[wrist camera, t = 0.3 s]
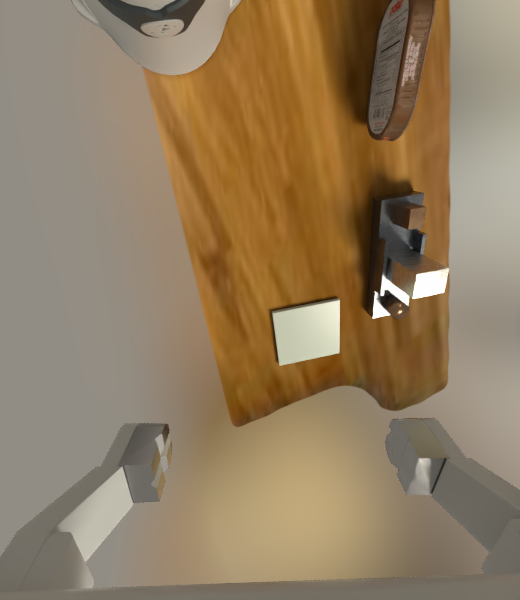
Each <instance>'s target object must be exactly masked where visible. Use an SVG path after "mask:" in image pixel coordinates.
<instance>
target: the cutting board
mask: <svg viewBox="0 0 520 600" xmlns="http://www.w3.org/2000/svg"><path fill="white" fill-rule="evenodd" d="M272 316H273V324H274V331H275V339H276V346H277V354H278V361H279V365H280V366H281V365H285V364H290V363H295V362H299V361H304V360H309V359H313V358H318V357H323V356H328V355H332V354H337V353H339V335H340V300H339V299H338V298H336V299H331V300H326V301H321V302H316V303H311V304H306V305H301V306H296V307H291V308H286V309H281V310H276V311H272Z"/></svg>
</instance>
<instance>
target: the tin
mask: <svg viewBox="0 0 520 600" xmlns="http://www.w3.org/2000/svg"><path fill="white" fill-rule="evenodd" d="M435 2H436V0H390V1H389V3H388V5H387V7H386V10H385V12H384V15H383V18H382V21H381V24H380V28H379V32H378V37H377V43H376V50H375V57H374V64H373V71H372V78H371V86H370V93H369V101H368V109H367V127H368V131H369V134H370V136H371V137H372V138H373V139H375V140H389V141H394V140H396V139H398V138H399V137H400V136H401V135H402V134H403V133H404V131H405V130H406V128H407V127H408V125H409V123H410V121H411V118H412V116H413V113H414V110H415V106H416V102H417V98H418V93H419V88H420V83H421V78H422V73H423V68H424V63H425V58H426V54H427V49H428V44H429V39H430V34H431V30H432V25H433V20H434V14H435Z"/></svg>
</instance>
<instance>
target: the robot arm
mask: <svg viewBox="0 0 520 600" xmlns="http://www.w3.org/2000/svg"><path fill="white" fill-rule="evenodd" d="M71 1H72V3H73V5H74V7H75V8H76V10H77V11H78V13H79V14H80V15H81V16H83V17H84V18H85V19H86V20H88V21H90V22H91V23H93V24H94V25H96V26H98V27H100V28H101V29H103V30H105V31H106V32H107V33H108V34H109V35H110V36H111V37H112V39H113V40H114V41H115V42H116V43H117V44H118V46H119V47H120V48H121V49H122V50H123V51H124V52H125V53H126V54H127V55H128V56H129V57H130V58H132V59H133V60H134V61H135V62H137V63H138V64H140V65H141V66H143V67H145V68H146V69H148V70H151V71H153V72H156V73H160V74H165V75H180V74H185V73H188V72H191V71H193V70H195V69H197V68H198V67H200V66H201V65H202V64H204V63H205V62H206V61H207V60H208V59H209V57H210V56H211V55H212V54H213V52H214V51H215V49H216V47H217V45H218V43H219V41H220V39H221V36H222V33H223V30H224V27H225V24H226V21H227V19H228V16H229V14H230V13H231V12H232V11H233V10H234V9H235V8H236V6H237V5H238V4H239V3H240V1H241V0H71ZM389 427H390V429H391V432H390V433H389V434H388V435H387V437H386V441H385V444H386V451H387V455H388V457H389V460H390V462H391V463H392V464H393V465H394V466H395V467H396V468H398V473H397V476H398V478H399V480H400V482H401V484H402V486H403V489H404V491H405V492H406V494H407V495H432V497H433V498H434V499H435V500H436V501H437V502H438V503H439V504H440V505H441V506H442V507H443V508H444V509H445V510H446V511H447V512H448V513H449V514H450V515H451V516H453V518H454V519H456V520H457V521H458V522H459V523H460V524H461V525H462V526H463V527H464V528H465V529H466V530H467V531H468V532H469V533H470V534H471V535H472V536H473V537H474V538H475V539H476V540H477V541H478V542H480V543H481V544H482V545H483V546H484V547H485V548H486V549H487V550H488V551H489V552H490V553H489V554H488V556H487V557H486V559H485V561H484V562H483V564H482V568H481V569H482V570H483V572H484V574H480V575H479V574H478V575H451V576H421V577H396V578H395V577H393V578H364V579H337V580H310V581H281V582H280V581H279V582H255V583H254V582H251V583H223V584H197V585H196V584H195V585H167V586H140V587H112V588H92V587H93V584H94V580H93V577H92V575H91V573H90V571H89V569H88V567H87V565H86V563H85V562H86V561H87V560H88V559H89V557H90V556H91V555H92V554H93V553H94V551H95V550H96V549H97V548H98V547H99V545H100V544H101V543H102V542H103V540H104V539H105V538H106V537H107V536H108V534H109V533H110V532H111V531H112V530H113V529H114V527H115V526H116V525H117V524H118V522H119V521H120V520H121V519H122V518H123V517H124V515H125V514H126V513H127V512H128V511H129V509H130V508H131V507H132V506H133V503H140V502H156V501H160V498H161V494H162V491H163V487H164V483H165V478H164V473H165V472H166V471H167V469H168V468H169V465H170V462H171V455H172V442H171V439H170V438H169V437H168V434H169V425H168V424H159V423H158V424H156V423H154V424H153V423H151V424H150V423H138V424H136V423H135V424H132V423H131V424H128V423H127V424H126V423H125V424H124V425H123V426H122V427H121V428H120V430H119V432H118V434H117V436H116V438H115V440H114V442H113V444H112V446H111V448H110V449H109V451H108V453H107V456H106V457H105V459H104V461H103V463H102V465H101V467H95V468H94V469H93V470H92V471H91V472H89V473H88V474H87V475H86V476H84V477H83V478H82V479H81V480H80V481H78V482H77V483H76V484H75V485H73V486H72V487H71V488H70V489H69V490H67V491H66V492H65V493H64V494H63V495H61V496H60V497H59V498H58V499H56V500H55V501H54V502H53V503H51V504H50V505H49V506H48V507H47V508H45V509H44V510H43V511H42V512H40V513H39V514H38V515H37V516H36V517H35V518H33V519H32V520H31V521H29V522H28V523H27V524H26V525H25V526H24V527H22V528H21V529H20V530H18V531H17V533H16V534H15V536H14V537H13V539H12V540H11V542H10V543H9V545H8V546H7V548H6V549H5V551H4V552H3V554H2V555H1V557H0V600H520V490H518V489H517V488H516V487H514V486H513V485H511V484H510V483H508V482H507V481H505V480H503V479H502V478H500V477H499V476H497V475H495V474H494V473H493V472H491V471H490V470H488V469H486V468H485V467H484V466H482V465H480V464H479V463H477V462H476V461H474V460H473V459H471V458H466V457H465V455H464V454H463V453H462V451H461V450H460V449H459V447H458V446H457V445H456V444H455V442H454V441H453V440H452V438H451V437H450V436H449V434H448V433H447V432H446V430H445V429H444V428H443V427H442V425H441V424H440V423H439V421H438V420H437V419H435V418H420V419H419V418H407V419H392V421H391V422H390V425H389Z"/></svg>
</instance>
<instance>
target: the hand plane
mask: <svg viewBox="0 0 520 600" xmlns="http://www.w3.org/2000/svg"><path fill="white" fill-rule="evenodd" d="M423 197H424V193H421V192H416V191H411V192H406V193H400V194H394V195H388V196H383V197H377V198H374V199H373V216H372V232H371V249H370V265H369V281H368V298H367V313H368V314H369V315H370V316H371V317H372V318H377V317H382V316H387V315H391V316H392V317H393V318H394V319H402V318H403V317H405V316H406V315H407V314H408V311H409V307H408V301H409V295H407V294H406V293H405V292H403V291H402V290H400V289H399V288H398V287H396V286H395V285H394V284H392V283H391V282H390V281H388V280H387V279H386V267H387V257H388V253H391V252H397V251H402V250H407V249H412V250H414V251H416V252H418V253H420V254H422V255H423V254H424V247H425V241H426V235H427V234H426V233H423V232H421V231H419V228H421V227H423V225H424V219H425V212H426V207H425V206H422V204H423Z"/></svg>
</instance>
